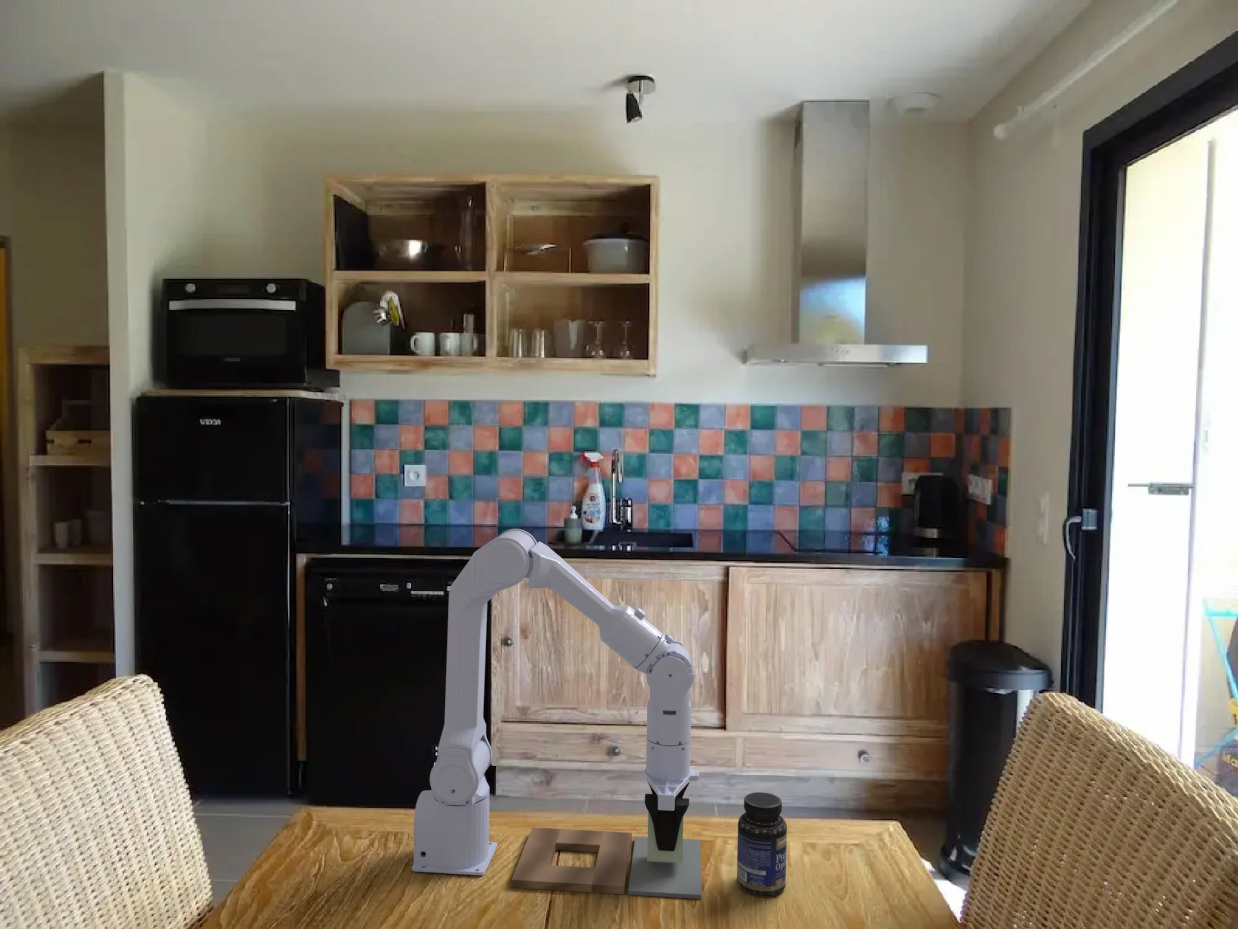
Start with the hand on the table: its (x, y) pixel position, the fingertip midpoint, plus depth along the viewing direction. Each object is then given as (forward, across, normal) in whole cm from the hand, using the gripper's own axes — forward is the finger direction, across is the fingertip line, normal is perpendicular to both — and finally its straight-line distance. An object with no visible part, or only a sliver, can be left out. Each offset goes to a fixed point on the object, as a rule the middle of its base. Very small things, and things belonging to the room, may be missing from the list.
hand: (666, 840), depth 113 cm
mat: (+4, 0, 0) cm, 4 cm away
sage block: (+2, 0, 0) cm, 2 cm away
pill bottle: (+4, -3, -12) cm, 13 cm away
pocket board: (+4, 0, +12) cm, 13 cm away
